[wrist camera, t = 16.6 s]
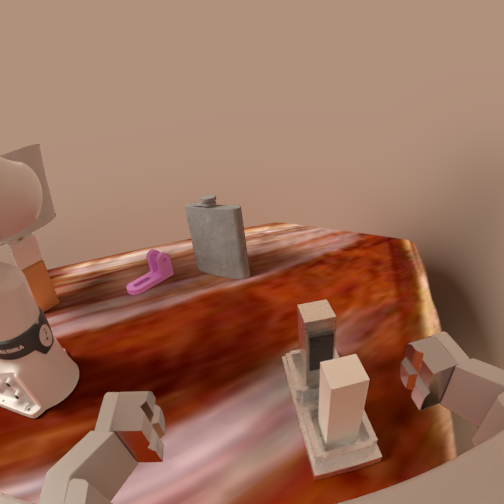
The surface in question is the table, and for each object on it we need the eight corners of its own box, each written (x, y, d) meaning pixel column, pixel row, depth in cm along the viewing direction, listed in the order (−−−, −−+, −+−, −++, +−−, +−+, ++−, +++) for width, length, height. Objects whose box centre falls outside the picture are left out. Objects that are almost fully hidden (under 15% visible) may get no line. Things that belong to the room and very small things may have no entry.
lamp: (65, 278, 89) (28, 150, 72) (95, 298, 76) (50, 138, 59) (7, 311, 73) (-40, 176, 56) (24, 341, 60) (-39, 171, 42)
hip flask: (252, 274, 79) (242, 194, 71) (243, 282, 76) (231, 199, 68) (202, 264, 87) (189, 193, 79) (193, 271, 84) (178, 197, 76)
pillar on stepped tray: (314, 480, 30) (318, 422, 24) (282, 362, 50) (275, 293, 44) (380, 461, 31) (404, 397, 25) (331, 352, 51) (333, 283, 45)
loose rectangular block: (325, 449, 33) (331, 389, 28) (316, 421, 37) (318, 358, 32) (356, 440, 33) (369, 379, 28) (345, 414, 37) (354, 350, 32)
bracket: (162, 270, 87) (156, 247, 84) (174, 274, 84) (168, 250, 81) (124, 291, 78) (116, 267, 75) (135, 297, 75) (127, 272, 72)
